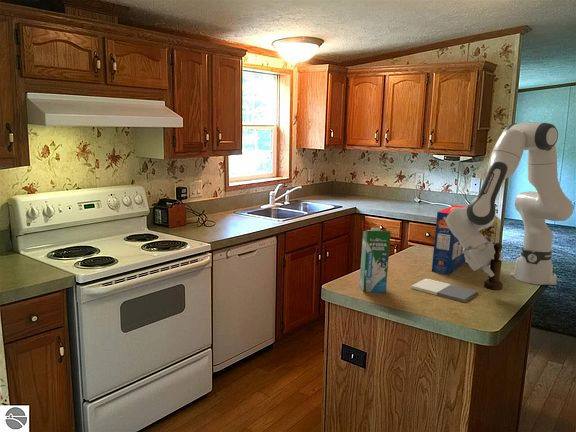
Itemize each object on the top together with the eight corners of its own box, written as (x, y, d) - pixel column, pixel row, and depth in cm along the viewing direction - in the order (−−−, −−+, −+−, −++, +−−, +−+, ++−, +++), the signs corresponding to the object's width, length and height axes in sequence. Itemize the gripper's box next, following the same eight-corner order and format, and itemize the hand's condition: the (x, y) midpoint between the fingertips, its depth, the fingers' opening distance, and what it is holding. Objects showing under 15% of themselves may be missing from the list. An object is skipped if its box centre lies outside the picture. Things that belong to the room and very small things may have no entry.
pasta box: (449, 259, 242) (454, 205, 237) (465, 262, 238) (471, 207, 233) (431, 271, 220) (437, 211, 214) (449, 275, 215) (455, 214, 210)
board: (425, 280, 205) (426, 278, 205) (477, 293, 191) (477, 291, 191) (410, 288, 195) (411, 285, 194) (464, 302, 181) (464, 299, 180)
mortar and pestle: (497, 285, 188) (503, 241, 185) (505, 291, 182) (511, 245, 178) (481, 285, 188) (486, 240, 185) (488, 290, 182) (493, 245, 178)
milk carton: (381, 285, 197) (385, 226, 193) (385, 292, 188) (390, 231, 184) (359, 284, 197) (363, 225, 192) (363, 292, 188) (367, 230, 183)
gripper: (467, 244, 180) (490, 275, 175) (492, 237, 193) (514, 265, 188) (455, 253, 184) (477, 284, 179) (480, 245, 198) (501, 273, 192)
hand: (496, 274), depth 184 cm, fingers closed on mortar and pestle, 4 cm apart
